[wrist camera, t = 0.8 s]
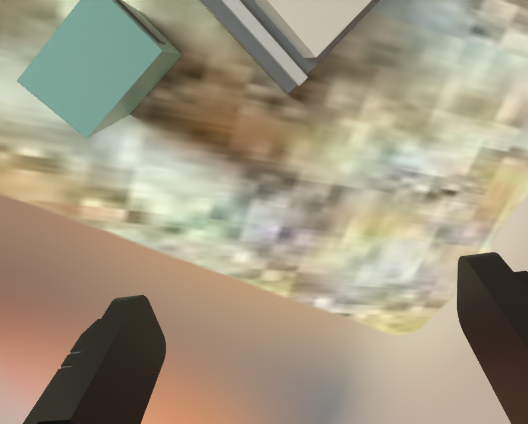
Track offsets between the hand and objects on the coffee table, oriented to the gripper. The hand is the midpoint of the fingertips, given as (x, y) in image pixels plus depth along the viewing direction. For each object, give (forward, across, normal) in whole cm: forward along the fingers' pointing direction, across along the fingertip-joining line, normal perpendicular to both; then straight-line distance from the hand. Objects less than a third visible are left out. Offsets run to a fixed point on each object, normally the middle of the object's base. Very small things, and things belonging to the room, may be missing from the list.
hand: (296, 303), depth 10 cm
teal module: (+21, +11, -6) cm, 25 cm away
